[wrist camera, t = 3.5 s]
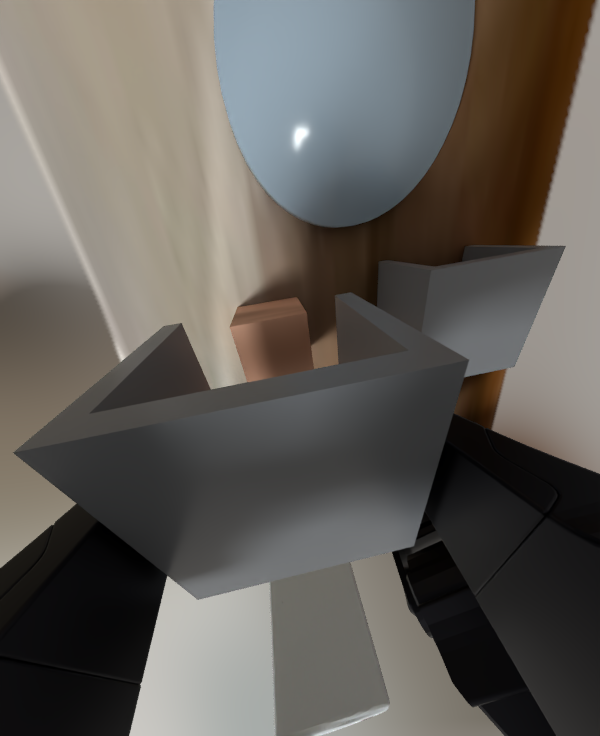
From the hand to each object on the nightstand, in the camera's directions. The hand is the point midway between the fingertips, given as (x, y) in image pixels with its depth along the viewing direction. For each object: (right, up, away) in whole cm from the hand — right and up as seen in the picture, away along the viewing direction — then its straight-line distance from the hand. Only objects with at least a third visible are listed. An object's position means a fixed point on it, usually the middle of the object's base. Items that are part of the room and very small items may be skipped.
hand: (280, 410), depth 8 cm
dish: (+3, +15, +2) cm, 15 cm away
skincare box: (0, -11, +17) cm, 20 cm away
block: (-1, +4, +8) cm, 9 cm away
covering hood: (0, +1, +1) cm, 2 cm away
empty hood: (+10, +6, +8) cm, 14 cm away
